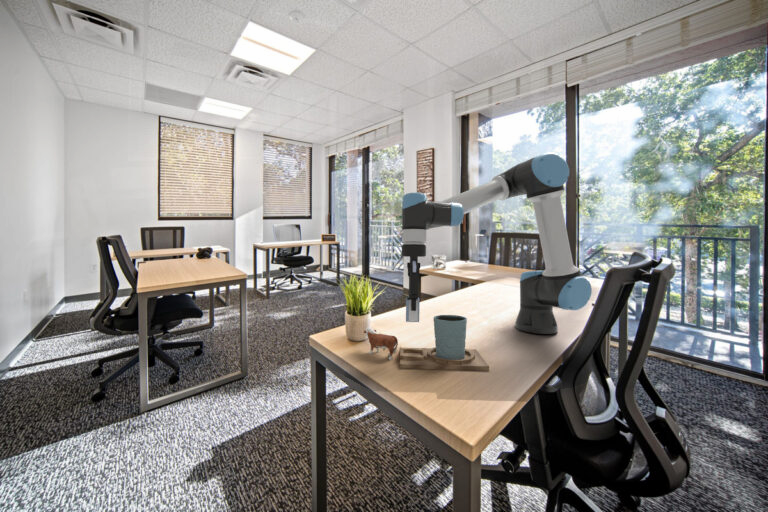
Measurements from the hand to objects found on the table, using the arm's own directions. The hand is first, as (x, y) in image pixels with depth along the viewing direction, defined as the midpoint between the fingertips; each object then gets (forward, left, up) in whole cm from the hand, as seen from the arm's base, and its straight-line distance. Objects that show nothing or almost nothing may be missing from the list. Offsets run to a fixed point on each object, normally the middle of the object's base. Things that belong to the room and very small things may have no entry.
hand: (412, 319), depth 98 cm
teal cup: (-11, 0, -11) cm, 16 cm away
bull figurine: (+10, -3, -13) cm, 17 cm away
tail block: (0, 0, 0) cm, 0 cm away
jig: (-9, 0, -12) cm, 15 cm away
